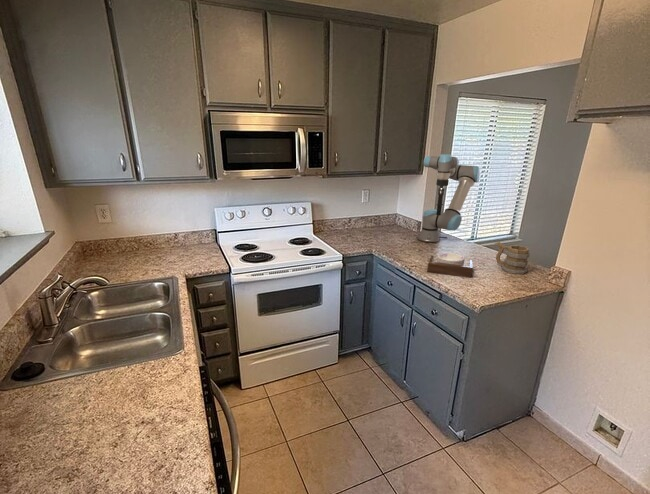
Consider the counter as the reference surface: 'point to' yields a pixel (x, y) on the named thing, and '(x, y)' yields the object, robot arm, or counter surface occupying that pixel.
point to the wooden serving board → (450, 268)
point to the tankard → (513, 258)
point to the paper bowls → (451, 259)
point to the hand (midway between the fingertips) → (438, 215)
